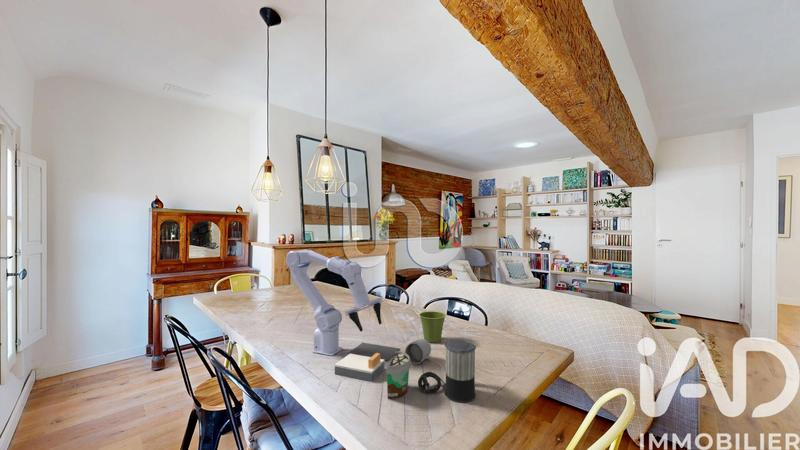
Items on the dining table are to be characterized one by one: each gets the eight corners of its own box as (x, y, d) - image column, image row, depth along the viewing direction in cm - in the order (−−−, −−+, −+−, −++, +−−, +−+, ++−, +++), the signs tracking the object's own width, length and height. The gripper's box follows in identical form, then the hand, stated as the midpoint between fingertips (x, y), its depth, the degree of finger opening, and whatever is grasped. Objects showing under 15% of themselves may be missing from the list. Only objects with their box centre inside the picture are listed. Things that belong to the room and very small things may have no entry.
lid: (334, 368, 108) (334, 356, 108) (349, 356, 117) (349, 345, 117) (371, 375, 102) (371, 363, 102) (384, 363, 112) (384, 351, 112)
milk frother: (481, 400, 92) (482, 349, 92) (431, 409, 87) (431, 355, 87) (459, 377, 105) (459, 333, 105) (414, 384, 101) (414, 337, 101)
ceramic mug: (432, 358, 121) (432, 337, 121) (423, 366, 113) (423, 345, 113) (407, 353, 126) (407, 333, 126) (397, 361, 118) (397, 340, 119)
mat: (347, 354, 124) (347, 353, 124) (362, 343, 135) (362, 342, 135) (387, 361, 118) (387, 360, 118) (399, 349, 129) (399, 348, 129)
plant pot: (450, 338, 141) (450, 313, 141) (438, 347, 131) (438, 320, 131) (426, 333, 148) (426, 309, 148) (414, 341, 138) (414, 315, 138)
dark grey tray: (334, 374, 108) (334, 366, 108) (349, 362, 117) (349, 355, 117) (371, 381, 102) (371, 373, 102) (384, 368, 112) (384, 361, 112)
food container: (407, 404, 90) (407, 368, 90) (386, 401, 91) (386, 366, 91) (414, 382, 102) (414, 351, 102) (395, 380, 103) (395, 350, 103)
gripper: (339, 300, 118) (351, 336, 116) (375, 287, 118) (388, 322, 116) (343, 299, 125) (354, 332, 123) (377, 286, 125) (389, 319, 123)
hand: (371, 327), depth 120 cm, fingers open, 7 cm apart
